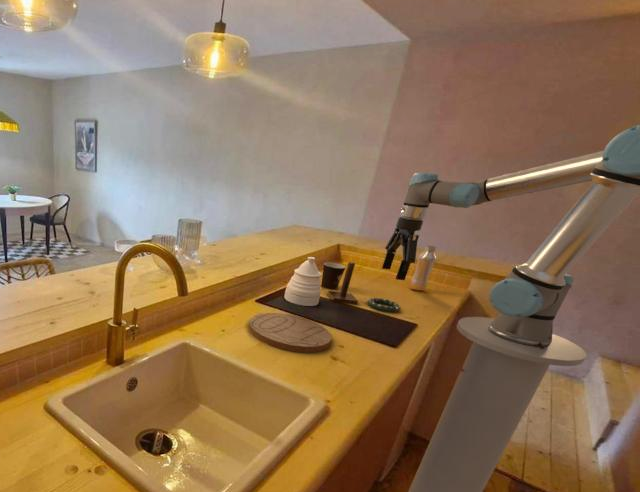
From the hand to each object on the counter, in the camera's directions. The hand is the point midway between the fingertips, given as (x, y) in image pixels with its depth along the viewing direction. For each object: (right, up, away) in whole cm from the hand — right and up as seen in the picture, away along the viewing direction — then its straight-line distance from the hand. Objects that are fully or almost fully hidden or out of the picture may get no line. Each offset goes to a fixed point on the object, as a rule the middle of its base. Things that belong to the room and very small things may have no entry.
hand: (392, 274), depth 148 cm
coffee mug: (-10, -4, +26) cm, 28 cm away
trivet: (-49, -21, -21) cm, 57 cm away
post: (-13, -9, +12) cm, 20 cm away
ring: (0, -12, +5) cm, 13 cm away
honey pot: (-31, -10, +8) cm, 34 cm away
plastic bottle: (+30, -5, +28) cm, 41 cm away
